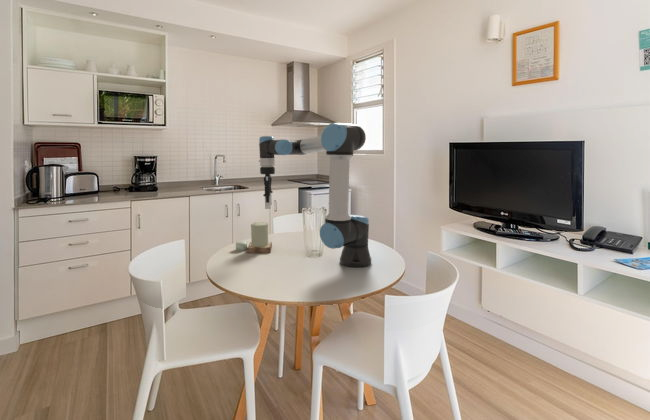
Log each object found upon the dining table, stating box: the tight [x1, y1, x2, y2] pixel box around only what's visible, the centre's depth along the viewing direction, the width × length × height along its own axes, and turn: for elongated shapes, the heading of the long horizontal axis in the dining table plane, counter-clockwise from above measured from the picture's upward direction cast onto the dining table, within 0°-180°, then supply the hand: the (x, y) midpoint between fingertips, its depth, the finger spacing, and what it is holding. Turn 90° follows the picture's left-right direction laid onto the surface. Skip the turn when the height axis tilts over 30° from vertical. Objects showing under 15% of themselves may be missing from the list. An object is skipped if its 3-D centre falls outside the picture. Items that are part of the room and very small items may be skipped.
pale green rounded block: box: [235, 240, 248, 252], centre depth 196 cm, size 6×6×4 cm
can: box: [250, 221, 269, 247], centre depth 195 cm, size 9×9×12 cm
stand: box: [246, 241, 273, 254], centre depth 196 cm, size 12×12×3 cm
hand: (268, 206), depth 193 cm, fingers open, 13 cm apart
